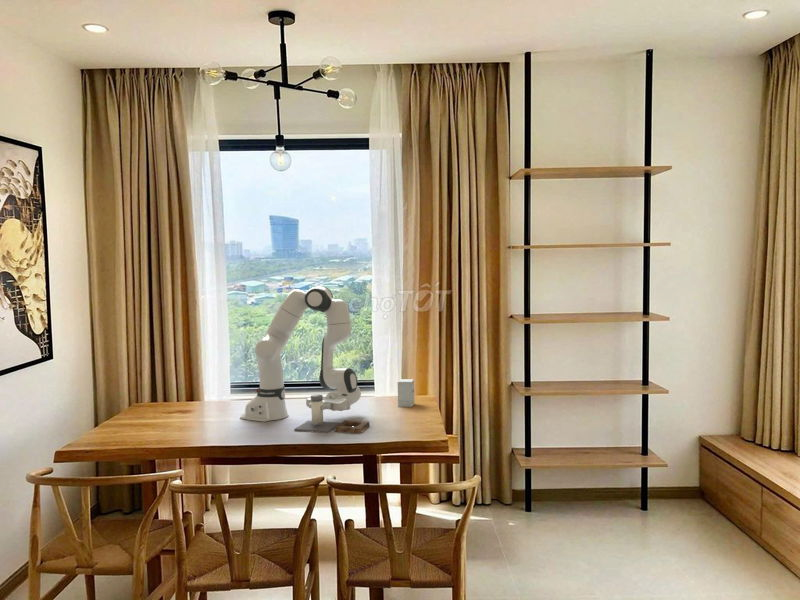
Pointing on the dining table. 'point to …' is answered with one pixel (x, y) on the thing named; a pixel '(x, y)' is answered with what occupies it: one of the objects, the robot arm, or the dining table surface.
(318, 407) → the cream canister
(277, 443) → the dining table surface
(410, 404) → the supplement box
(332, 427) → the grey mat
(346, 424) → the walnut socket
